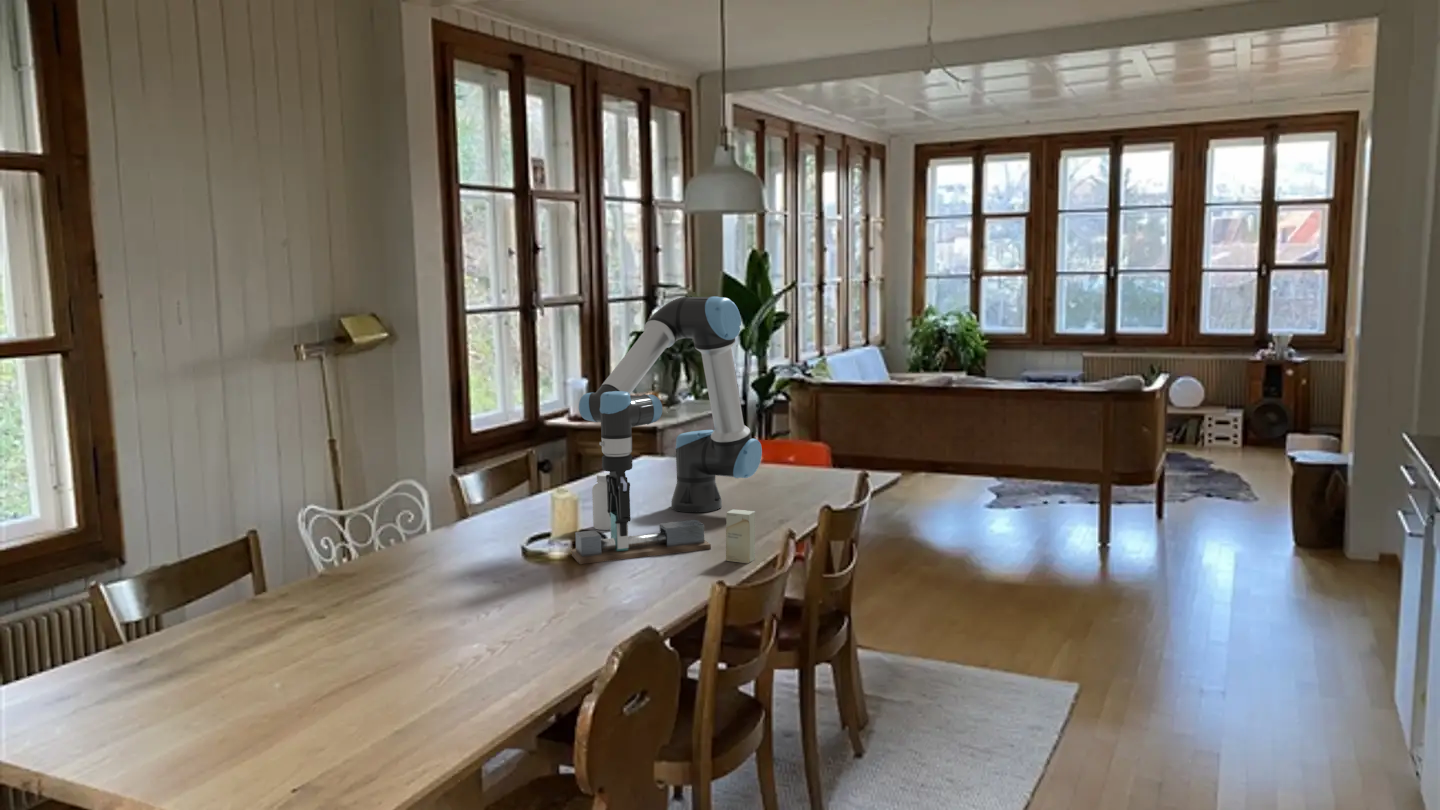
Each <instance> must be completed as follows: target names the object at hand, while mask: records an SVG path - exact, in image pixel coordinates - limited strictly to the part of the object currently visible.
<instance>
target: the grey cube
mask: <svg viewBox="0 0 1440 810" xmlns="http://www.w3.org/2000/svg"><path fill="white" fill-rule="evenodd" d="M601 539H602V535H601V534H600V533H599V532H597V530H596V529H595V530H584V531H575V549H576V551H577V553H578V554H579V555H580V556H581V557H585V556H594V555H602V552H601Z"/></svg>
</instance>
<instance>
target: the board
mask: <svg viewBox="0 0 1440 810" xmlns="http://www.w3.org/2000/svg"><path fill="white" fill-rule="evenodd" d="M711 549H712V544H711V543H709V542H708V541H706V540H705V539H704V543H700V544H691V545H682V546H673V547H666V544H658V545H649V546H640V547H631V548H628V550H626V551H616V550H614V549H613V550H604V551H601V552H602V555H594V556H585V557H581V556H580V555H579V554H578V553H577V551H576V548H574V549H570V550H571V552H572V555H571V557H572V558H574V560H575V561H576V562H577V563H578V564H579V565H583V564H594V563H602V562H609V561H618V560H627V559H635V558H644V557H652V556H662V555H671V554H679V553H686V552H687V553H689V552H695V551H697V552H698V551H705V550H711Z"/></svg>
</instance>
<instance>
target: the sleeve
mask: <svg viewBox="0 0 1440 810" xmlns="http://www.w3.org/2000/svg"><path fill="white" fill-rule="evenodd" d="M659 533H666V547H673V546H682V545H691V544H700V543H704V540H705V524H704V523H702V522H701V521H699V520H698V519H691V520H681V521H671V522H661V523H659Z"/></svg>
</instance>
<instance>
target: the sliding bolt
mask: <svg viewBox="0 0 1440 810" xmlns="http://www.w3.org/2000/svg"><path fill="white" fill-rule="evenodd" d="M610 514H611V530H610V538H603V539H602V538H601V551H604V550H613V549H614V550H616V551H626V550H628V548H623V549H617V525H616V524H615V521H618V519H617V511H615V512H610ZM658 544H666V533H660V532H659V533H649V534H640V535H632V536H631V535H628V546H629V548H631V547H640V546H649V545H658Z"/></svg>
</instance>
